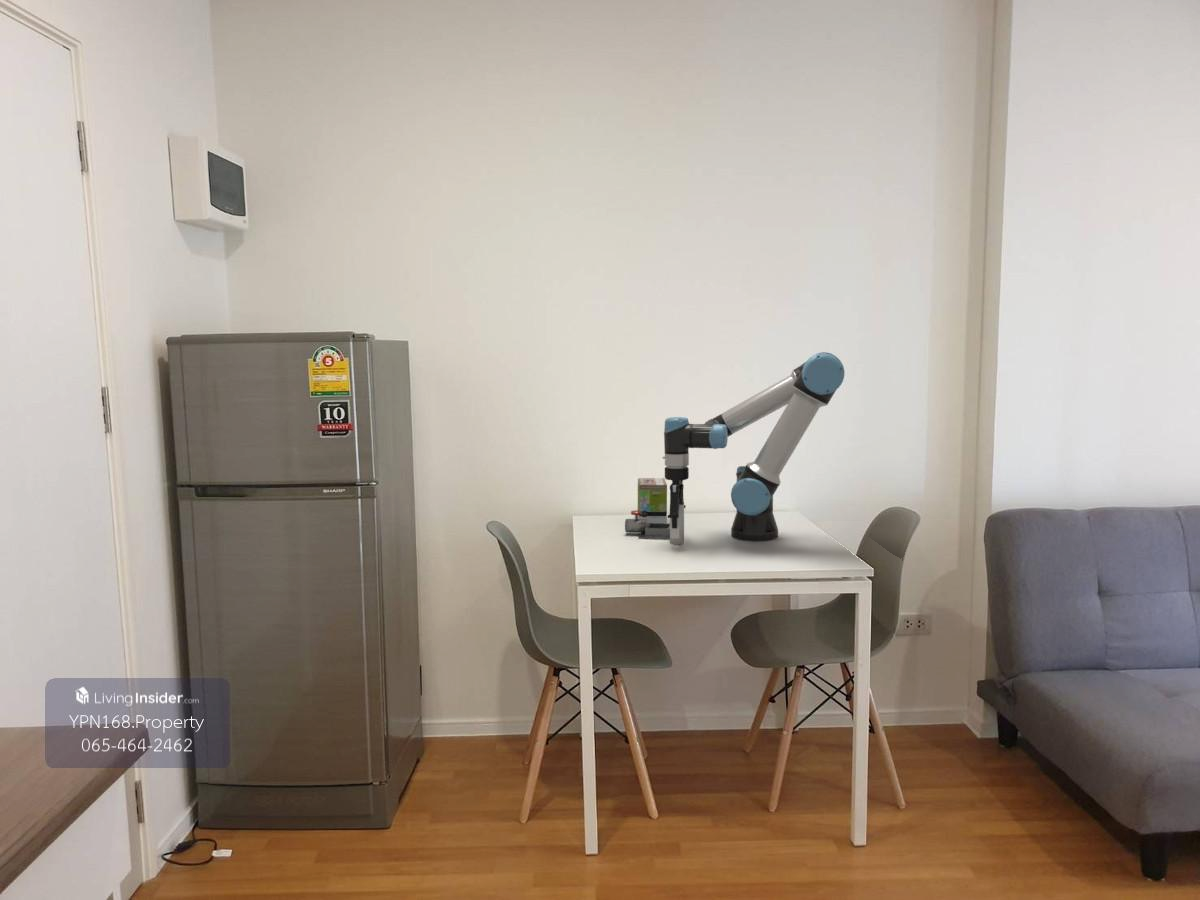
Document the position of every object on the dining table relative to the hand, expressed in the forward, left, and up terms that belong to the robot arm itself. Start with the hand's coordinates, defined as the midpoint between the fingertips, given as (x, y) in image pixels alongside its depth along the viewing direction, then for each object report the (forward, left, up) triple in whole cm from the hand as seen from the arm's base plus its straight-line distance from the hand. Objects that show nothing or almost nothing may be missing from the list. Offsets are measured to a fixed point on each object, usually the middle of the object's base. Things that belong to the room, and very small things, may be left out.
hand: (677, 533), depth 271 cm
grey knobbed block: (+10, -10, -3) cm, 14 cm away
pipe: (0, 0, -3) cm, 3 cm away
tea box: (+12, -30, -3) cm, 32 cm away
